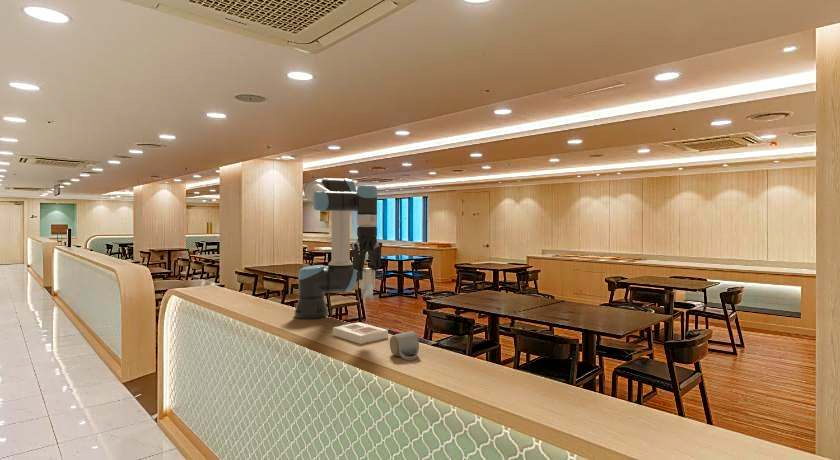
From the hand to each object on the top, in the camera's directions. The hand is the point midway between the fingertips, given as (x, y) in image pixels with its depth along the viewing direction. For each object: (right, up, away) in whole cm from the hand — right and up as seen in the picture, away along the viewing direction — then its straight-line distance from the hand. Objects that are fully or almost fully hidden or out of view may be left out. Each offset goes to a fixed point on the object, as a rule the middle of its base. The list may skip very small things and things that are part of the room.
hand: (367, 287), depth 175 cm
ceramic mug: (+16, -20, -22) cm, 34 cm away
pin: (0, -4, 0) cm, 4 cm away
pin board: (-3, -19, +4) cm, 20 cm away
